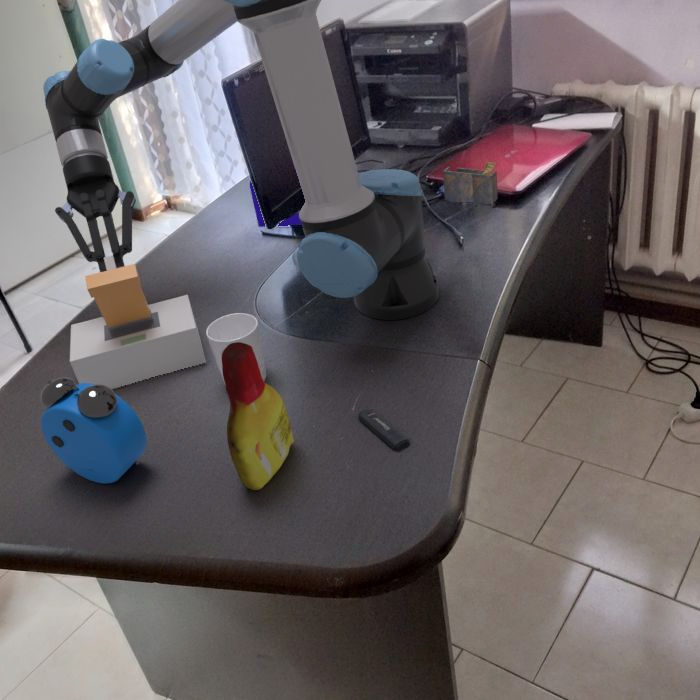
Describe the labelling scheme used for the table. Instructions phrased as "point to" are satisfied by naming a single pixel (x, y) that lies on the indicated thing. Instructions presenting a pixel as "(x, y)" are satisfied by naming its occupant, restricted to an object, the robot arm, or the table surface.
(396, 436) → the usb stick
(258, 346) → the white cup
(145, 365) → the white socket base
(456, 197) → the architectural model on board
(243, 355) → the bottle
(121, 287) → the lever
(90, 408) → the alarm clock
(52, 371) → the table surface
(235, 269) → the table surface
